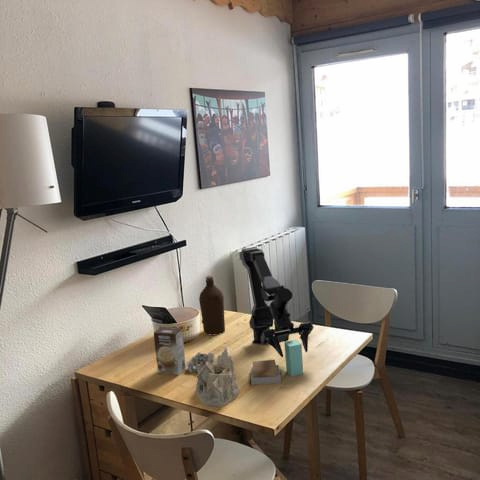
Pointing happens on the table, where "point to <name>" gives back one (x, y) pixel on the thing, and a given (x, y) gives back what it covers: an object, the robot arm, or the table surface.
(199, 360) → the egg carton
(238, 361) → the table surface
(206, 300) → the olive oil
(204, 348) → the table surface
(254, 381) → the slate slab
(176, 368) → the coffee box
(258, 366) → the walnut slab
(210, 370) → the grey jagged round piece
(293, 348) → the teal block
